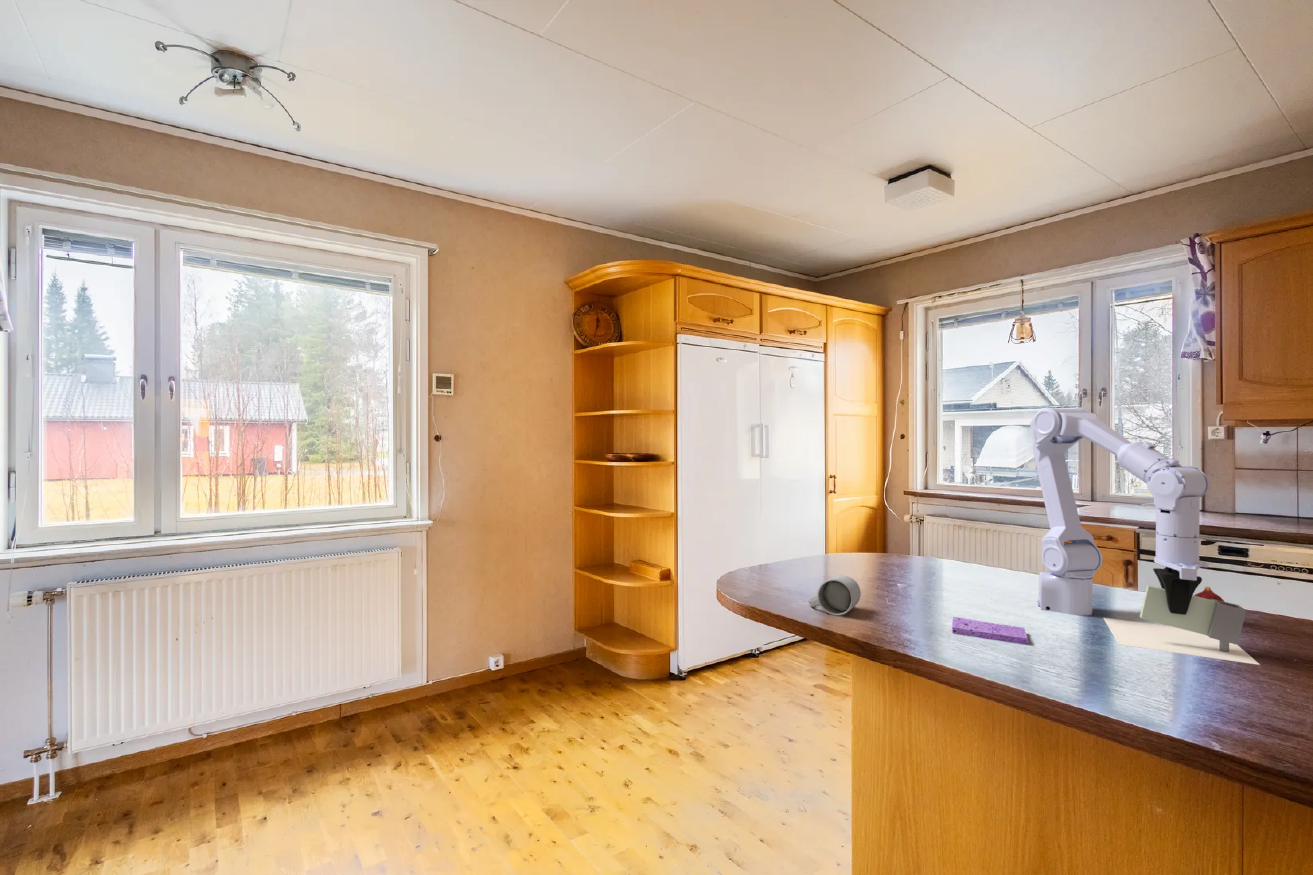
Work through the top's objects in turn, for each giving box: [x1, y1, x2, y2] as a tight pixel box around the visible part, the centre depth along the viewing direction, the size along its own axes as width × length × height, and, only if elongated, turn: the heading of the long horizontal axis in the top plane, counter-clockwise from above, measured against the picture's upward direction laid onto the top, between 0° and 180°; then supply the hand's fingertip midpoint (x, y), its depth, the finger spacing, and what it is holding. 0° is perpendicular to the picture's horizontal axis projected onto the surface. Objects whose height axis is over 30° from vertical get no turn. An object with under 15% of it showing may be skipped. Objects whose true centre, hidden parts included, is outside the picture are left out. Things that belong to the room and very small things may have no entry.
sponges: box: [951, 616, 1029, 645], centre depth 113 cm, size 7×13×2 cm, turn 61°
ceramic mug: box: [808, 575, 862, 617], centre depth 128 cm, size 11×8×8 cm
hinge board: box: [1102, 617, 1261, 666], centre depth 106 cm, size 18×17×5 cm
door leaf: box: [1139, 584, 1247, 646], centre depth 102 cm, size 13×4×6 cm, turn 60°
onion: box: [1193, 586, 1226, 602], centre depth 117 cm, size 6×6×8 cm
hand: (1176, 612), depth 103 cm, fingers closed on door leaf
